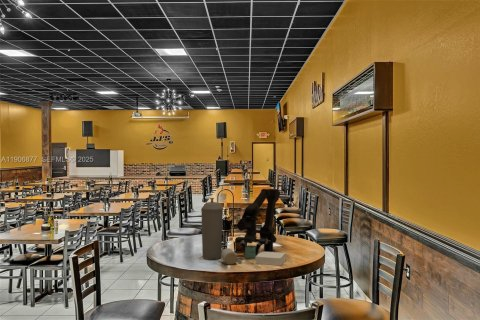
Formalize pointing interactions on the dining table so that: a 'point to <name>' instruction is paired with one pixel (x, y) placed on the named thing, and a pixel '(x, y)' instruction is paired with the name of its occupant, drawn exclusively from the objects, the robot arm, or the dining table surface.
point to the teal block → (250, 251)
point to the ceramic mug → (229, 256)
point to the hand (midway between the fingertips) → (251, 254)
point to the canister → (211, 230)
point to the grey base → (270, 258)
